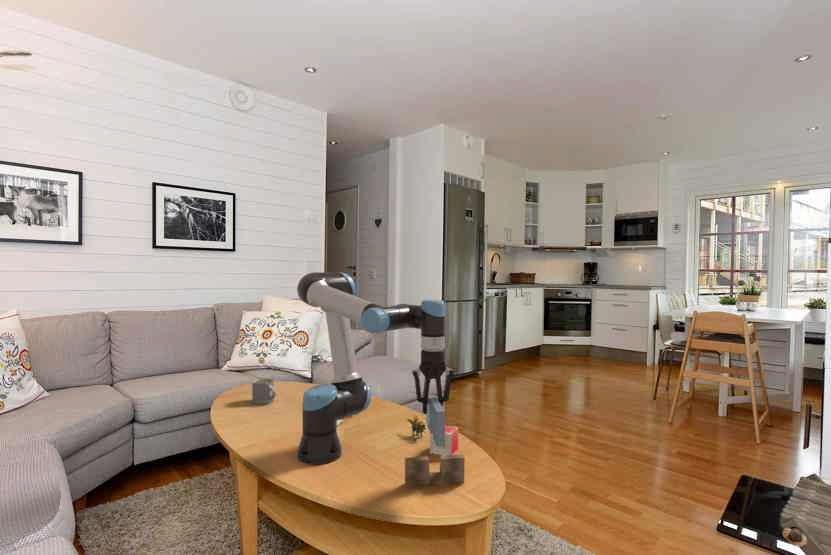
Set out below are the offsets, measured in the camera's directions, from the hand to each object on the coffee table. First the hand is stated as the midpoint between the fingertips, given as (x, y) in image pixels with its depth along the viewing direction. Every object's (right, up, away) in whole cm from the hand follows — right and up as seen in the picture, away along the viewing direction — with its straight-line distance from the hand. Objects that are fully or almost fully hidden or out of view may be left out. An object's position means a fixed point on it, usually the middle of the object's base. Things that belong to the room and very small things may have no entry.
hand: (432, 423), depth 138 cm
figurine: (-5, -16, +33) cm, 37 cm away
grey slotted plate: (+1, -2, -5) cm, 5 cm away
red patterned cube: (+5, -17, +20) cm, 26 cm away
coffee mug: (-78, -14, +73) cm, 108 cm away
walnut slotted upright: (0, -17, -4) cm, 18 cm away
